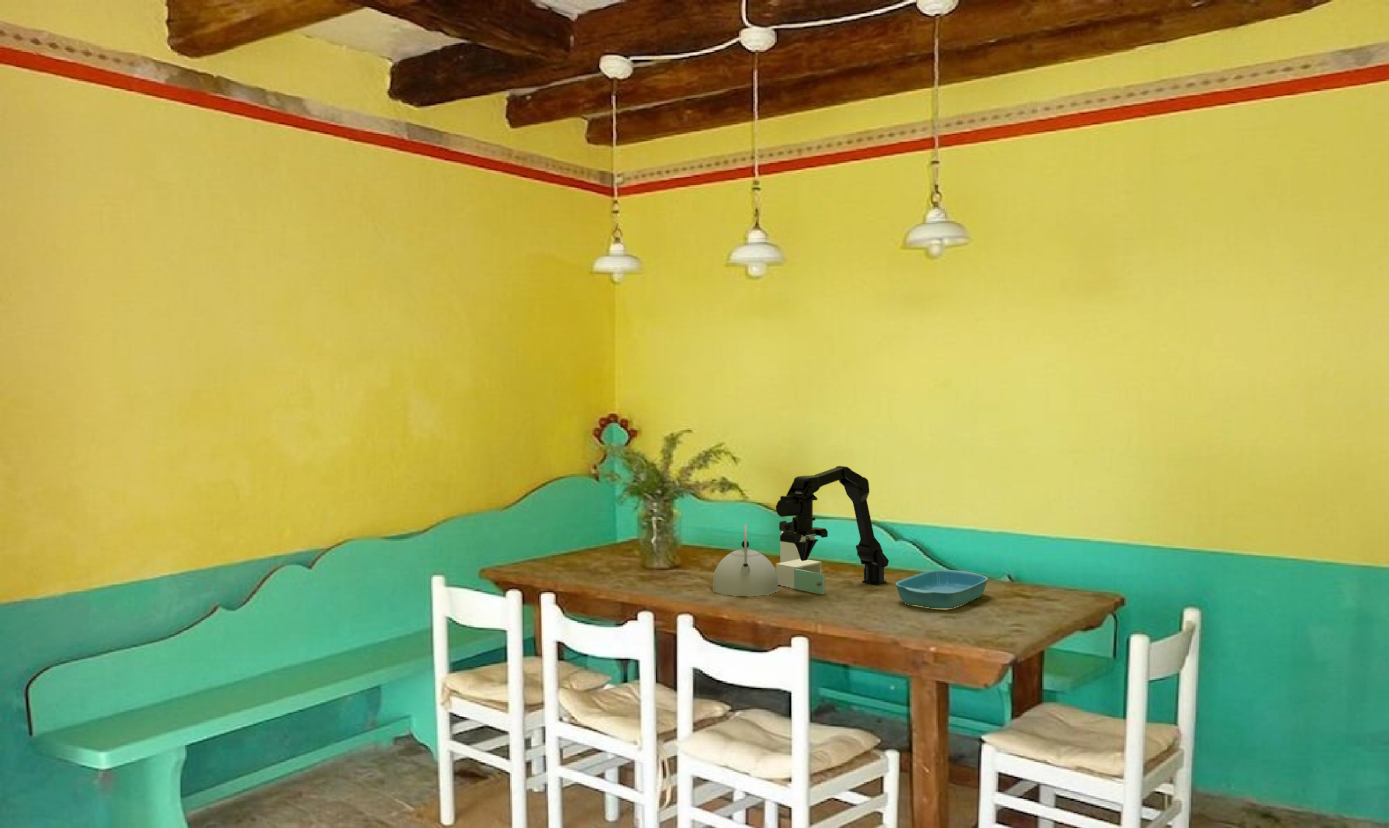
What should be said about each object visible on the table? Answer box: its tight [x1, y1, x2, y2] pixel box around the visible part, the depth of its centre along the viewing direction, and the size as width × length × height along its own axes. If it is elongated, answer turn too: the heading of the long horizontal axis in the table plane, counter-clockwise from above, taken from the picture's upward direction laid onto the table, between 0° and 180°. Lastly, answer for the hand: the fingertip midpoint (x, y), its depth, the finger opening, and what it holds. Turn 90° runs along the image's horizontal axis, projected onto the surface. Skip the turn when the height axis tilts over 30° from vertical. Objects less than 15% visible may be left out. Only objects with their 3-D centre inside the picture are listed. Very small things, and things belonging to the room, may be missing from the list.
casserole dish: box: [895, 569, 989, 608], centre depth 327 cm, size 37×22×7 cm, turn 140°
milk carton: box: [779, 531, 802, 563], centre depth 370 cm, size 7×7×19 cm
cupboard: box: [775, 559, 822, 589], centre depth 353 cm, size 9×14×8 cm, turn 134°
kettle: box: [712, 524, 779, 597], centre depth 343 cm, size 25×23×22 cm
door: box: [794, 569, 826, 595], centre depth 339 cm, size 12×2×7 cm, turn 44°
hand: (804, 560), depth 334 cm, fingers closed
